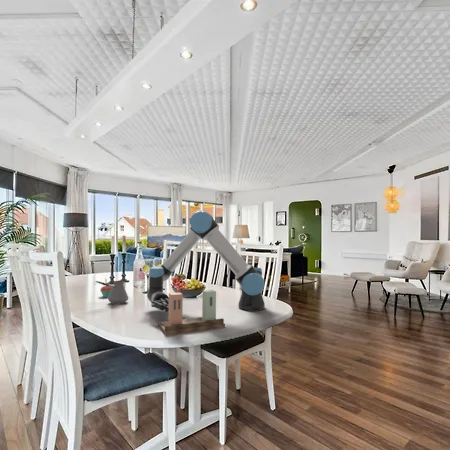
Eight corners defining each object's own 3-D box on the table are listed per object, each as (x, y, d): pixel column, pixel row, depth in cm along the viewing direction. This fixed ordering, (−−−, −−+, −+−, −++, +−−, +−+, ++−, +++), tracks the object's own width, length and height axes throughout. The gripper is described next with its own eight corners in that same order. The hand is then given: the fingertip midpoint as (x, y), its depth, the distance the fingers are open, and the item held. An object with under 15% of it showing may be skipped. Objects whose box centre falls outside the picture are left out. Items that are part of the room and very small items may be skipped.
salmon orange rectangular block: (179, 324, 134) (179, 292, 134) (182, 326, 130) (182, 294, 130) (168, 325, 132) (168, 293, 132) (171, 328, 128) (171, 295, 128)
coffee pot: (120, 300, 189) (121, 276, 189) (132, 302, 182) (132, 277, 183) (88, 306, 171) (89, 280, 172) (100, 309, 165) (101, 282, 165)
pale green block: (212, 319, 141) (212, 289, 141) (215, 322, 137) (216, 291, 138) (202, 321, 139) (202, 290, 139) (205, 323, 135) (206, 292, 135)
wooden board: (211, 319, 149) (211, 311, 149) (225, 327, 135) (225, 319, 135) (157, 325, 137) (157, 318, 137) (166, 335, 123) (166, 327, 123)
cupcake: (97, 296, 198) (97, 278, 198) (108, 294, 205) (109, 277, 205) (105, 298, 193) (105, 279, 194) (116, 296, 200) (117, 278, 201)
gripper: (172, 306, 157) (187, 317, 136) (147, 308, 151) (159, 320, 130) (172, 291, 157) (187, 300, 136) (147, 293, 151) (159, 303, 130)
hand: (173, 310), depth 133 cm, fingers closed
